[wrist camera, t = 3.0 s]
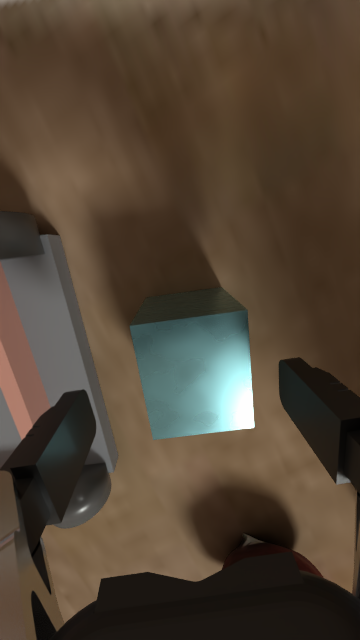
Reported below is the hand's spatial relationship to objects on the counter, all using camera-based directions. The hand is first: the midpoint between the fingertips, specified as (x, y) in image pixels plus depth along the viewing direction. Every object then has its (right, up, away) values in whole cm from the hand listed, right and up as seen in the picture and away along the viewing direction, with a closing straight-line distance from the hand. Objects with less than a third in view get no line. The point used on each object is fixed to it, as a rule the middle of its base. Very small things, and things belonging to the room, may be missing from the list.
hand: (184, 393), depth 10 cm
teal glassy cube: (0, +2, +7) cm, 7 cm away
